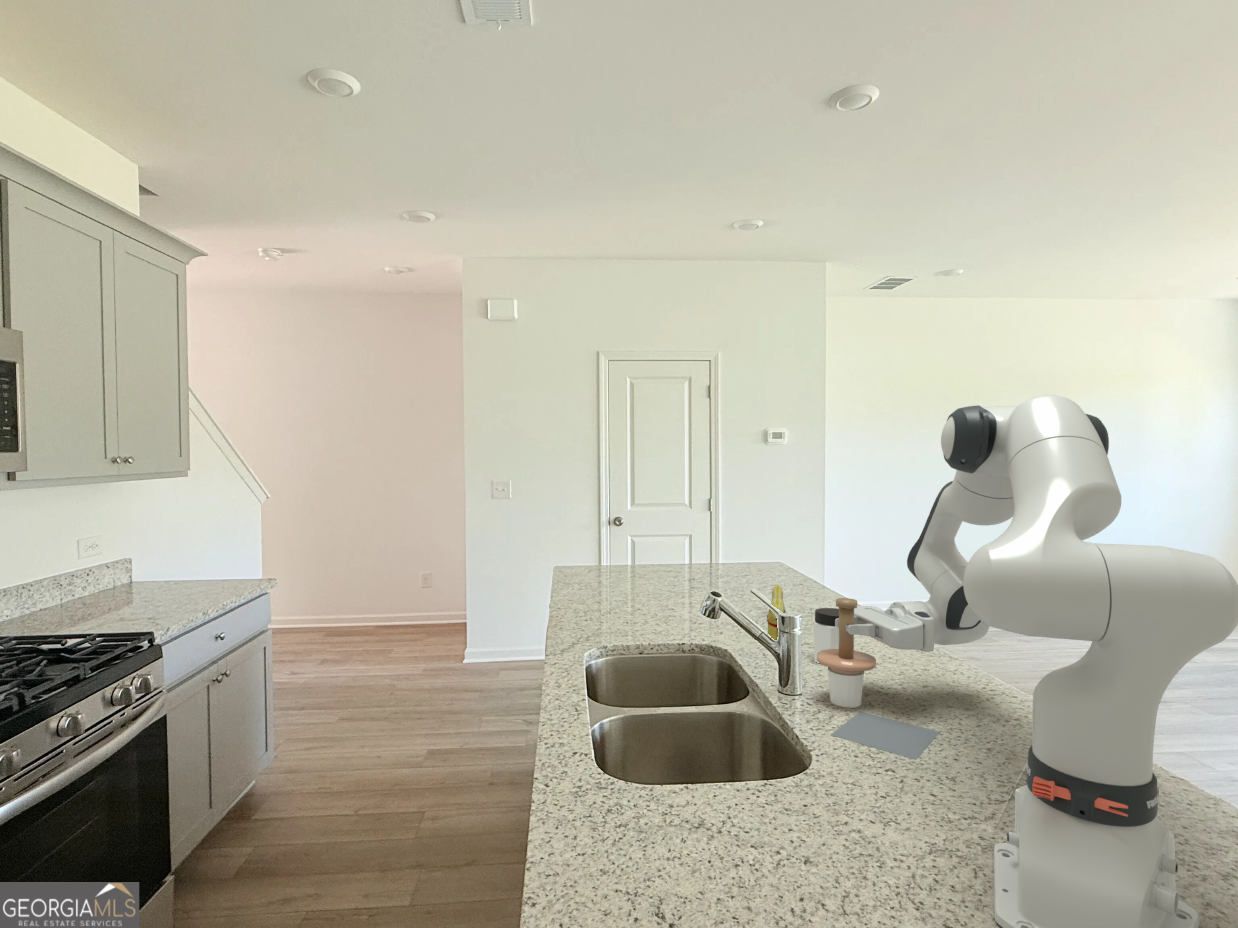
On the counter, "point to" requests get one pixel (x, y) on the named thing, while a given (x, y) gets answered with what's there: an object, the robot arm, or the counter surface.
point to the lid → (846, 644)
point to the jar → (825, 630)
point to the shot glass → (845, 687)
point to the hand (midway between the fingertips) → (842, 626)
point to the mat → (886, 734)
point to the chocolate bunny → (772, 620)
